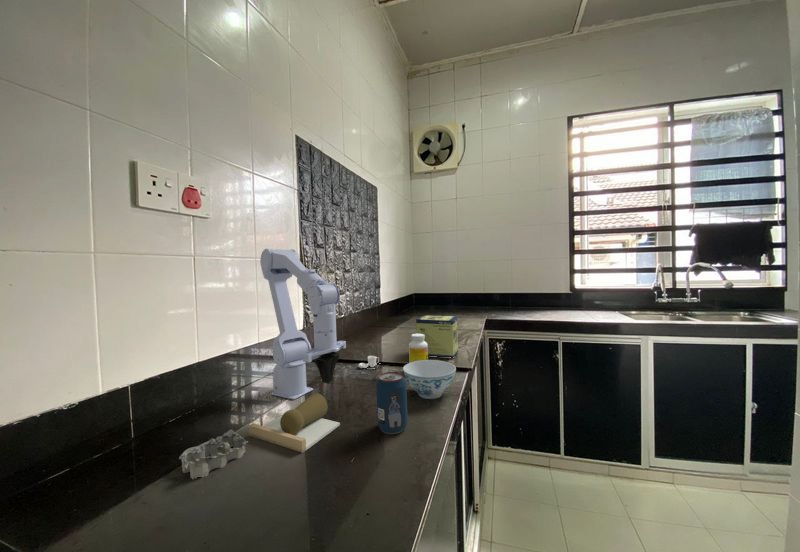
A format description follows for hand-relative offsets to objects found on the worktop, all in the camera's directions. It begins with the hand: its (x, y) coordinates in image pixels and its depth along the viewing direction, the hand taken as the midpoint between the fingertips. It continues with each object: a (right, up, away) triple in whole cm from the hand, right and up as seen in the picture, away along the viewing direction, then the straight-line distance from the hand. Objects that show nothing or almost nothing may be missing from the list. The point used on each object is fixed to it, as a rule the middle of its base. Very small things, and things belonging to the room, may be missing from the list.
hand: (327, 381), depth 82 cm
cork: (-1, -5, -4) cm, 6 cm away
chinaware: (+28, -7, +8) cm, 30 cm away
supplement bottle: (+26, -6, +28) cm, 39 cm away
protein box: (+35, -5, +48) cm, 60 cm away
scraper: (-5, -8, -10) cm, 14 cm away
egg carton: (-17, -9, -21) cm, 28 cm away
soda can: (+17, -7, -10) cm, 22 cm away
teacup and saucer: (+6, -7, +37) cm, 38 cm away
